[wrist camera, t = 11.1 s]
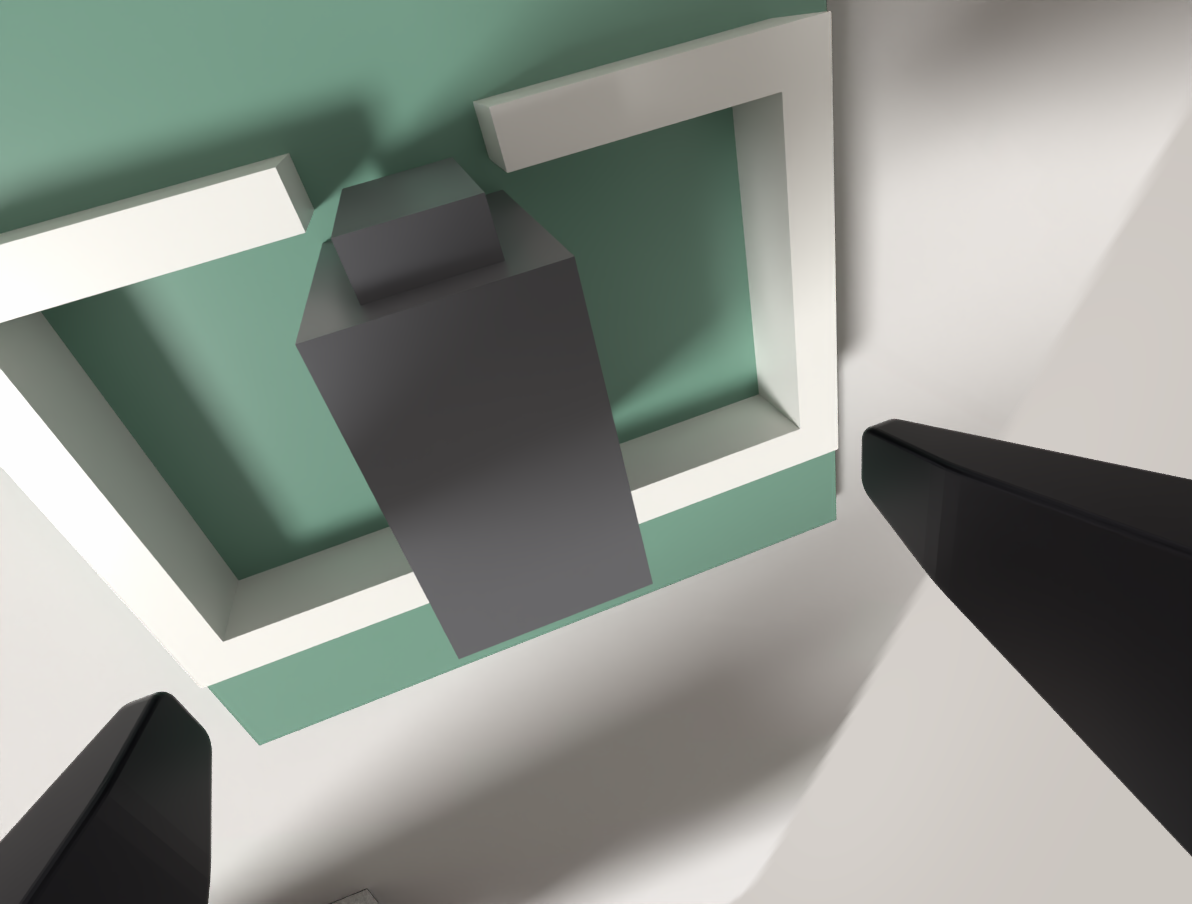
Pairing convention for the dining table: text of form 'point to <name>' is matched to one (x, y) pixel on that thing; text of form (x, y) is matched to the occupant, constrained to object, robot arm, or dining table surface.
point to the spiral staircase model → (358, 899)
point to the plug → (473, 402)
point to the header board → (306, 219)
